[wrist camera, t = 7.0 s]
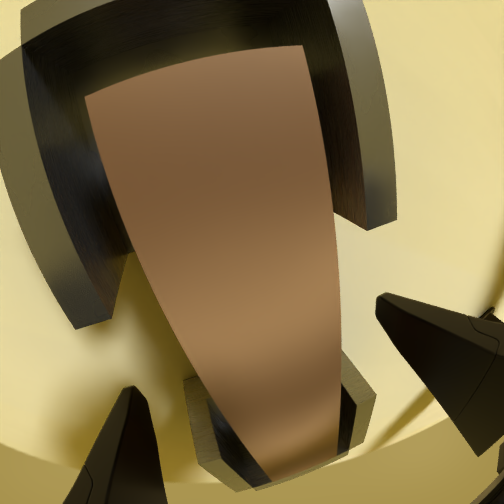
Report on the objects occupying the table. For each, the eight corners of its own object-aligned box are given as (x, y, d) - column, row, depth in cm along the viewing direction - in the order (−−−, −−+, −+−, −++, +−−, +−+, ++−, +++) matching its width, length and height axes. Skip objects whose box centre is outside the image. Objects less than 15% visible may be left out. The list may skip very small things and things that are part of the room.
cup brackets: (328, 395, 18) (361, 447, 13) (222, 435, 16) (240, 495, 12) (271, 14, 8) (344, -45, 3) (57, 70, 6) (-16, 36, 2)
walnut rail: (307, 403, 14) (336, 456, 11) (250, 425, 14) (272, 481, 10) (242, 81, 7) (302, 45, 4) (124, 114, 7) (84, 96, 3)
